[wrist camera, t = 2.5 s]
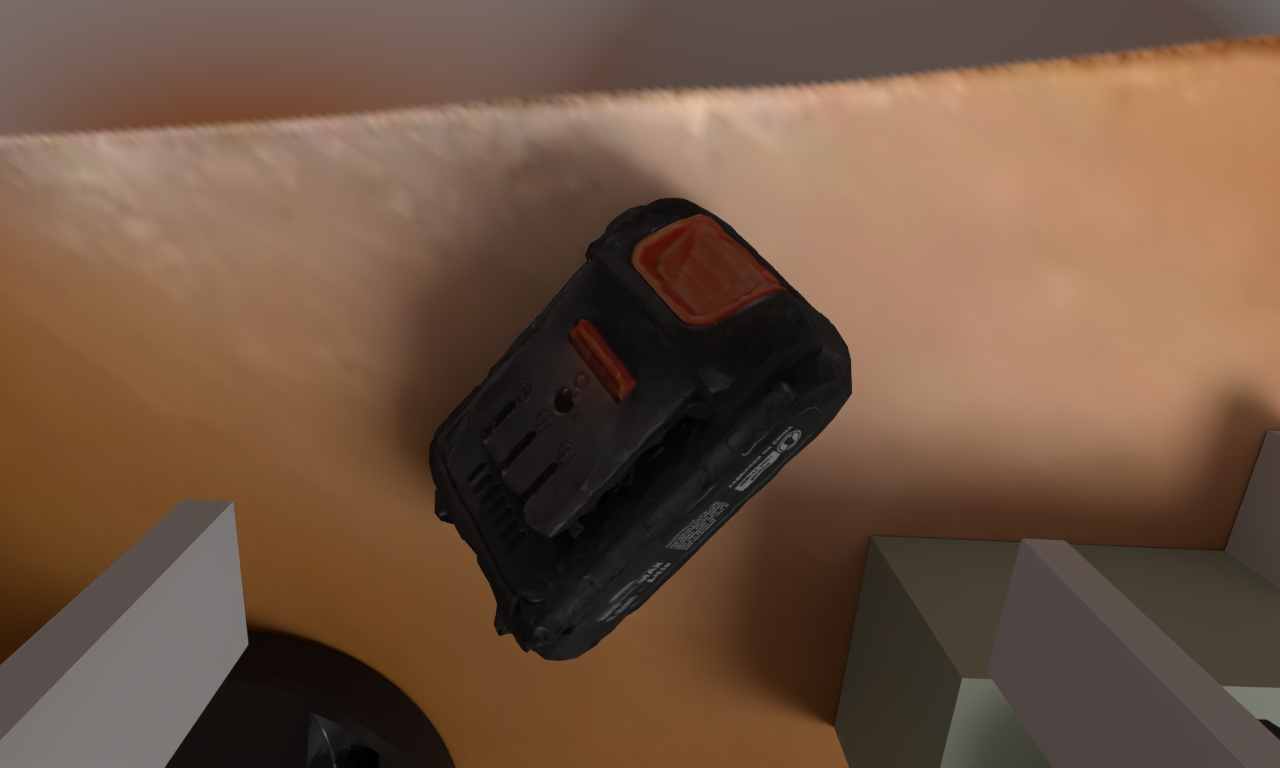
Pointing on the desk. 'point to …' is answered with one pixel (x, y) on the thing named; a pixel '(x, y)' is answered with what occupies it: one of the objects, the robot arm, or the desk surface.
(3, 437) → the desk surface
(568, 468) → the battery
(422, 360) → the desk surface
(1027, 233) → the desk surface
